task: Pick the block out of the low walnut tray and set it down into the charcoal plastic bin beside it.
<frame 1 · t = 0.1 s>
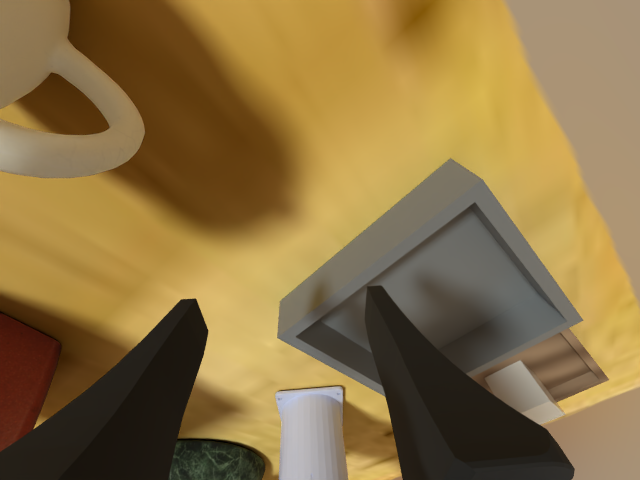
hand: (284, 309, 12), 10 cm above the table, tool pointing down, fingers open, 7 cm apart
bin: (417, 294, 26), on the table
goblet: (206, 462, 44), on the table
tray: (505, 370, 34), on the table
block: (510, 376, 34), point 1 cm above the table, touching tray
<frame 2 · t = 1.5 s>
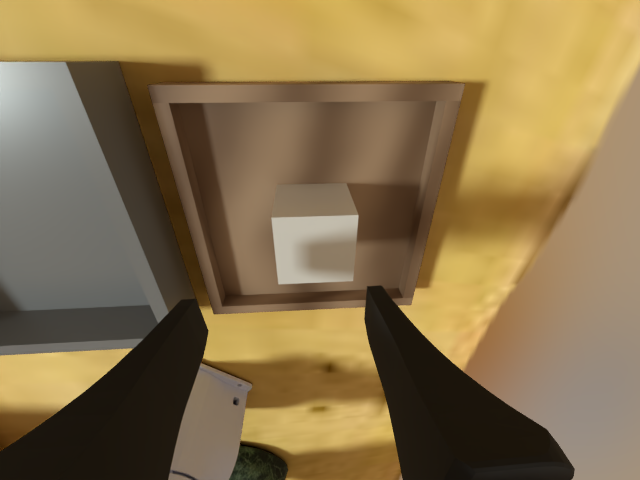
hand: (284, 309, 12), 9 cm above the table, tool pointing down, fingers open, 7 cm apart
bin: (32, 217, 19), on the table
goblet: (223, 465, 43), on the table
tray: (311, 209, 20), on the table
block: (312, 214, 20), point 1 cm above the table, touching tray
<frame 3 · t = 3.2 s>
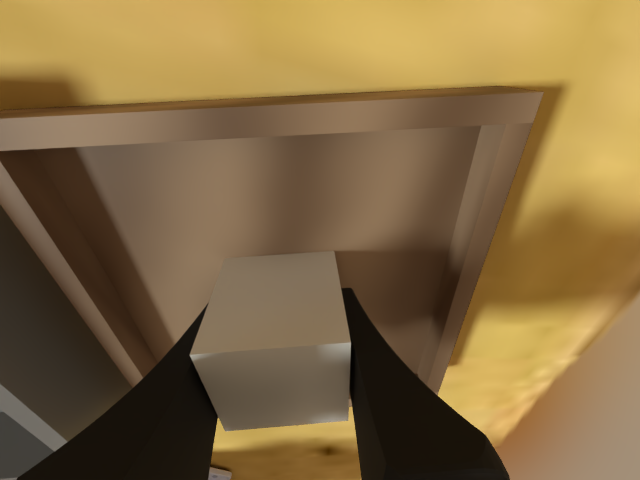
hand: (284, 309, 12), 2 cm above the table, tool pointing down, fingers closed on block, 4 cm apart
tray: (286, 282, 14), on the table
block: (285, 294, 13), point 1 cm above the table, touching gripper, tray
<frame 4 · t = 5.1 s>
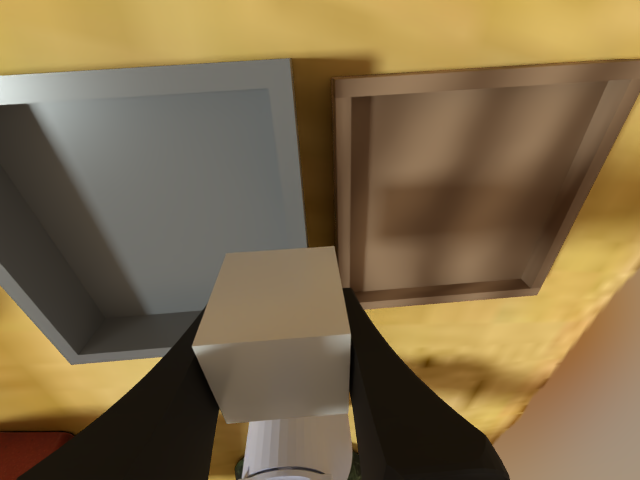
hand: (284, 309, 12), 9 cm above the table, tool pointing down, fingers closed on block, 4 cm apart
plant pot: (35, 451, 36), on the table
bin: (174, 221, 19), on the table
goblet: (301, 463, 43), on the table
tray: (447, 201, 20), on the table
block: (286, 289, 13), point 8 cm above the table, touching gripper
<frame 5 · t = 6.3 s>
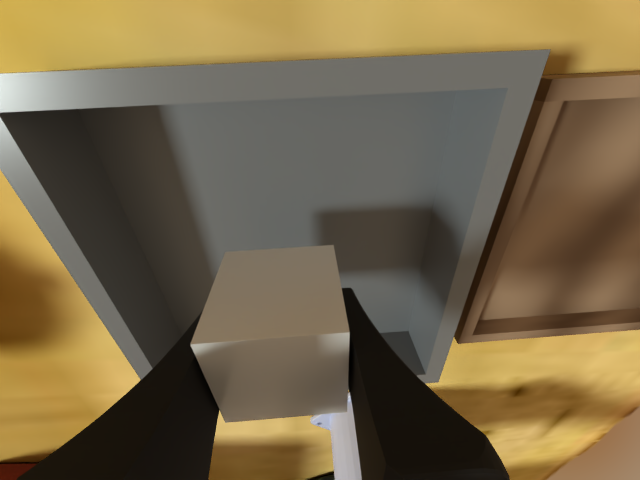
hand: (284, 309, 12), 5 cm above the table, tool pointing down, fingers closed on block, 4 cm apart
bin: (288, 242, 17), on the table
tray: (601, 221, 17), on the table
block: (285, 288, 13), point 4 cm above the table, touching gripper
when the fingers open (4 cm above the table, at t = 7.3 s): block drops 3 cm, resting on bin.
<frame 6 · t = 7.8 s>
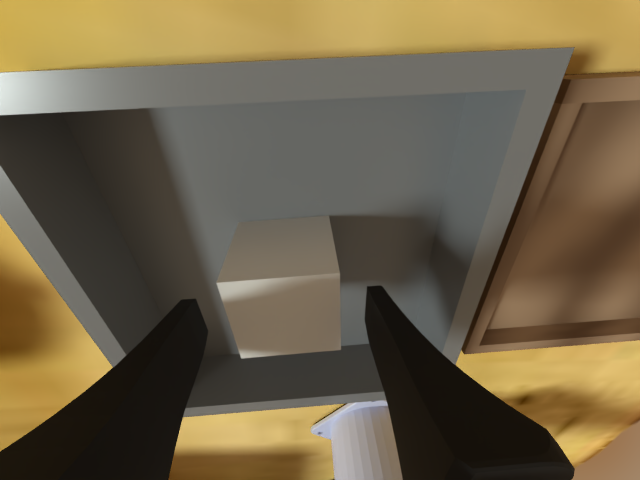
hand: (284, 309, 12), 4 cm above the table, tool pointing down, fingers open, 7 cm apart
bin: (288, 250, 16), on the table
tray: (614, 228, 16), on the table
block: (288, 255, 15), point 1 cm above the table, touching bin
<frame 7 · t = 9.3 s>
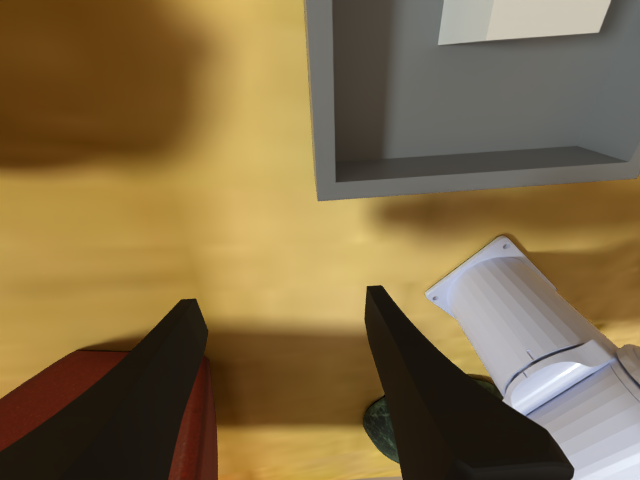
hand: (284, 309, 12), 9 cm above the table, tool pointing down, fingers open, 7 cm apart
plant pot: (152, 384, 31), on the table
goblet: (433, 411, 38), on the table
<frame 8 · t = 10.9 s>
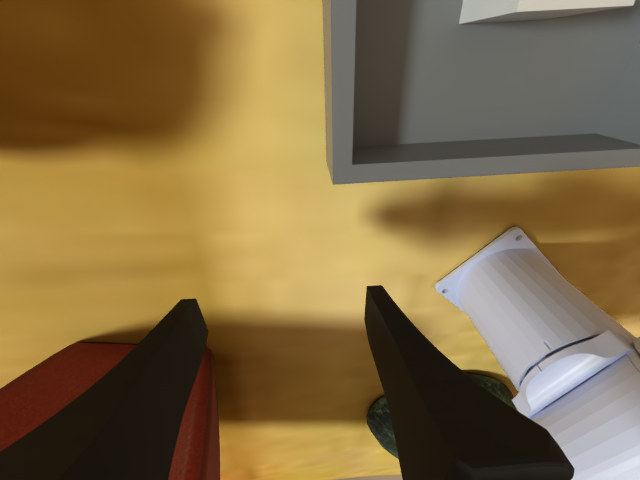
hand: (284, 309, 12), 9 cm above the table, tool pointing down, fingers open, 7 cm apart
plant pot: (153, 378, 30), on the table
goblet: (437, 408, 37), on the table
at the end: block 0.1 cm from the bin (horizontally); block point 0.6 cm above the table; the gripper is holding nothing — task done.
